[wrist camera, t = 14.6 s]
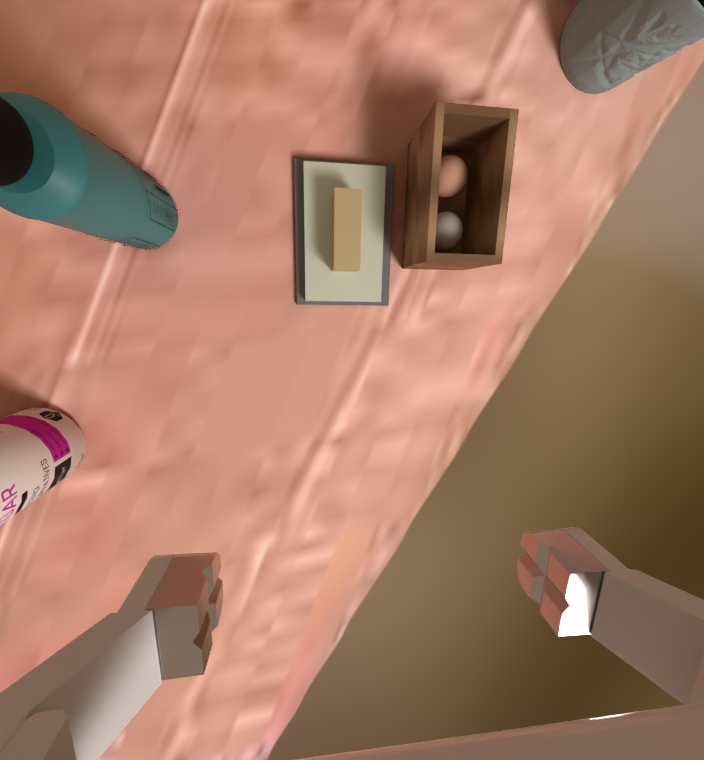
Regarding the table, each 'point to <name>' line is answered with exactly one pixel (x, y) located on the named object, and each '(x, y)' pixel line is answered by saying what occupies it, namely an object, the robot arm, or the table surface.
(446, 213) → the ball grey
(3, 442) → the supplement can
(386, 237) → the mat
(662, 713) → the robot arm
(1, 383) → the table surface
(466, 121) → the box
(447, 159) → the ball terracotta
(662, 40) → the gray embossed pot
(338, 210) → the lid
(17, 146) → the beverage bottle
